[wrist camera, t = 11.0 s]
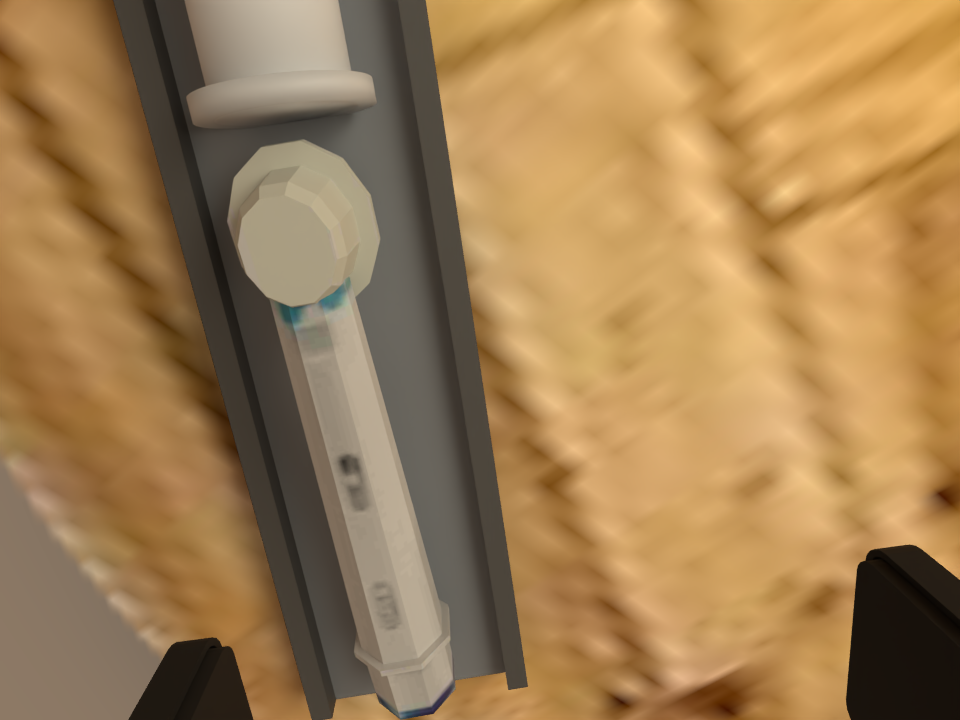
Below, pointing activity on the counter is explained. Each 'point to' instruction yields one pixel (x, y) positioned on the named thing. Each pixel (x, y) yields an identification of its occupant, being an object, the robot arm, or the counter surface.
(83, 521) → the counter surface
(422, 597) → the white electric toothbrush
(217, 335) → the pipe jig board
